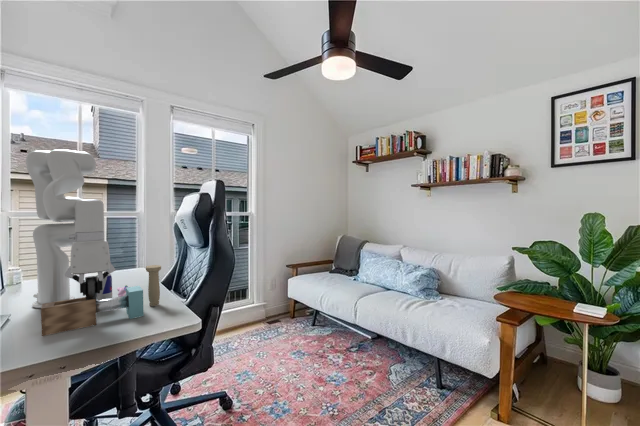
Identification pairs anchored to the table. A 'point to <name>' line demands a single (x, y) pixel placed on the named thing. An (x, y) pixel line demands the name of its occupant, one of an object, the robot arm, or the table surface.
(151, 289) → the handle
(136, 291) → the socket
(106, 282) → the energy drink
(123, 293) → the rabbit figure
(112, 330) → the table surface
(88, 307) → the wood grain block
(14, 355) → the table surface
